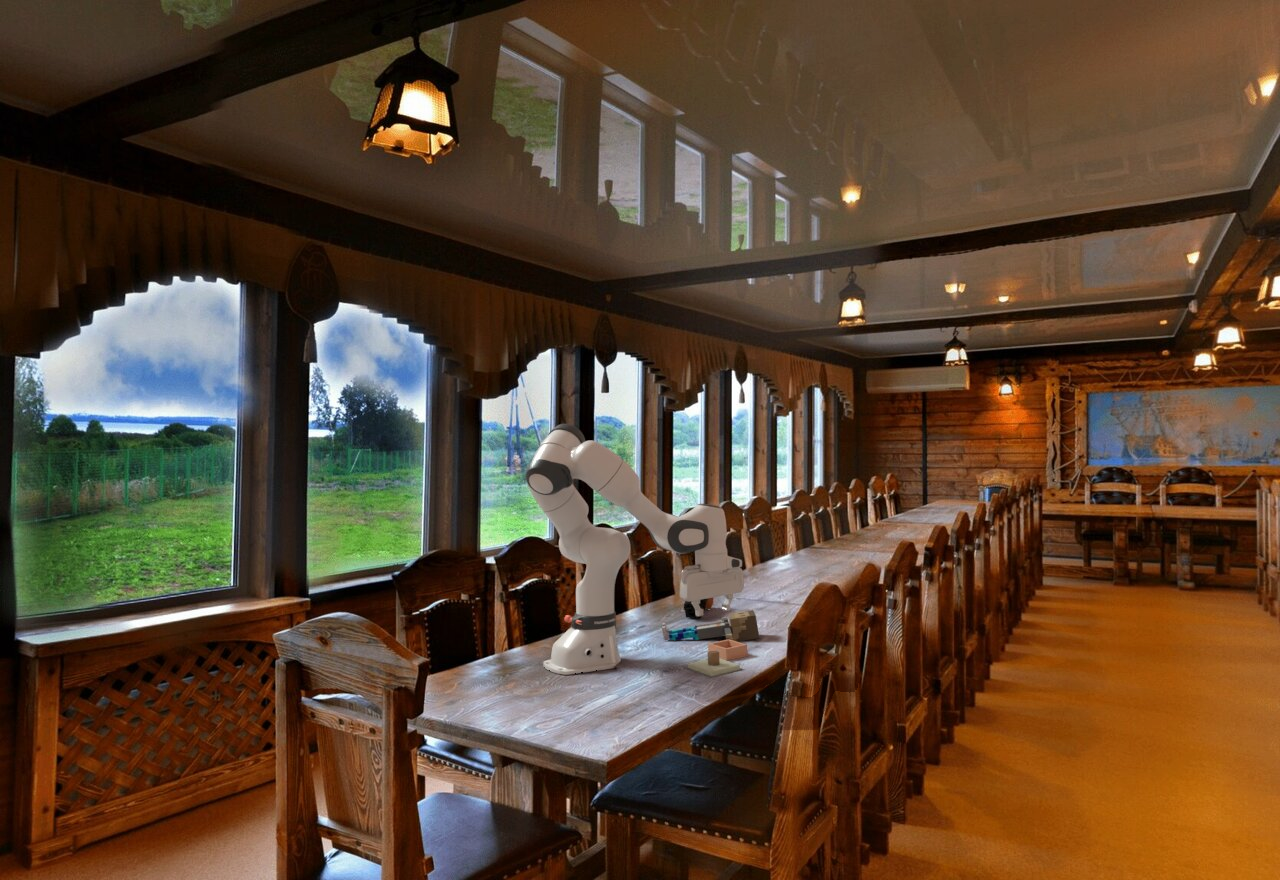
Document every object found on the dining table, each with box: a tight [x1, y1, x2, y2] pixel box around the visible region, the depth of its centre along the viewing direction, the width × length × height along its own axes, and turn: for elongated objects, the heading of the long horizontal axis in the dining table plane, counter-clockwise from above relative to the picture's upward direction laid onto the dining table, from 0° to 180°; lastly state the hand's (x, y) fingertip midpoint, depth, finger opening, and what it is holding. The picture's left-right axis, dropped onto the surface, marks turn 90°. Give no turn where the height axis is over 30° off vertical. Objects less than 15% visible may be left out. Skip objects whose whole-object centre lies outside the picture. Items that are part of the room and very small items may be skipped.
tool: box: [683, 597, 714, 619], centre depth 283 cm, size 8×23×15 cm, turn 161°
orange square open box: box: [707, 639, 748, 661], centre depth 223 cm, size 8×8×4 cm
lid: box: [687, 651, 741, 676], centre depth 210 cm, size 10×10×4 cm
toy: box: [661, 609, 760, 642], centre depth 247 cm, size 26×8×30 cm
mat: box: [683, 666, 746, 679], centre depth 210 cm, size 12×12×1 cm
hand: (712, 613), depth 210 cm, fingers open, 8 cm apart
